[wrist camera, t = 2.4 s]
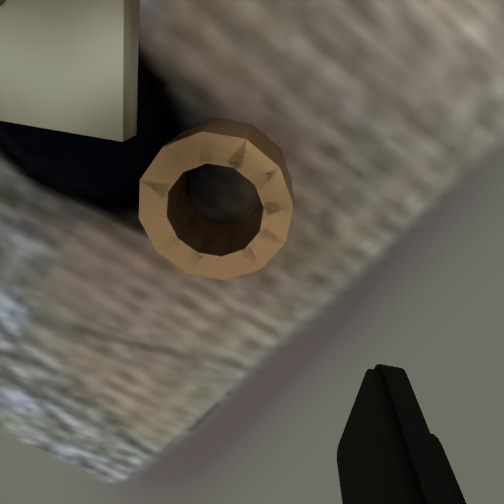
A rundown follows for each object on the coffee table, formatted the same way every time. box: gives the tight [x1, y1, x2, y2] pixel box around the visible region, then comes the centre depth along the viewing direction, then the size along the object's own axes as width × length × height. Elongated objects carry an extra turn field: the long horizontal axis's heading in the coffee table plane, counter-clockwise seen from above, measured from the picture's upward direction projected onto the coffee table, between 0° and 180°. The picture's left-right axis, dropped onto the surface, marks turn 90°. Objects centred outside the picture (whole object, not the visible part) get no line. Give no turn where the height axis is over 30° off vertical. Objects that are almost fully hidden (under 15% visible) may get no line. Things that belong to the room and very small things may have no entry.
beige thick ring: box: [139, 118, 294, 280], centre depth 20 cm, size 7×7×4 cm
